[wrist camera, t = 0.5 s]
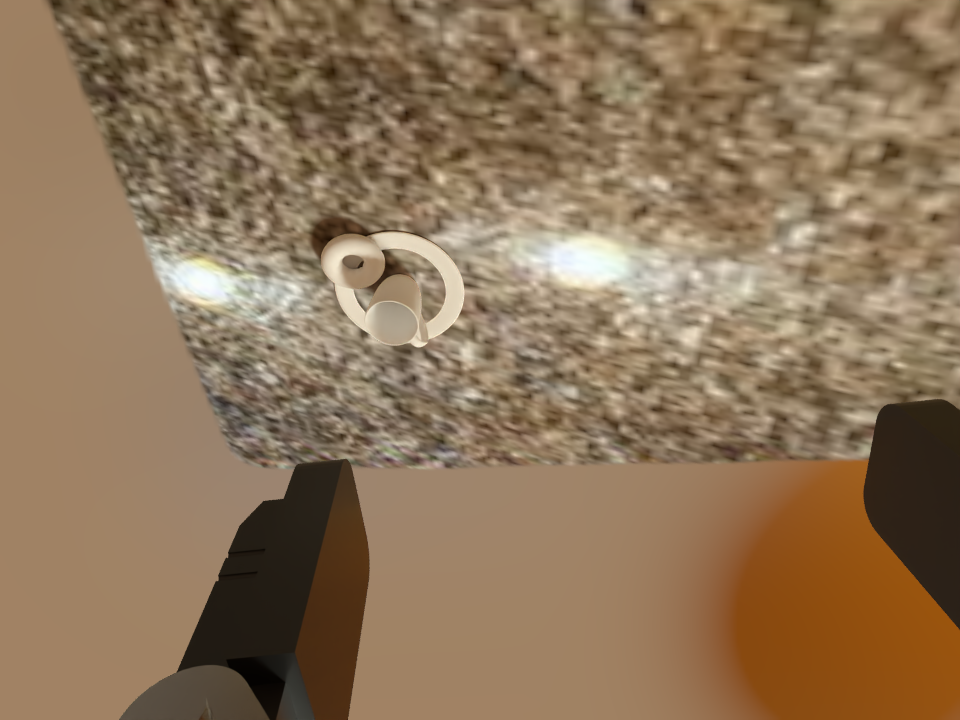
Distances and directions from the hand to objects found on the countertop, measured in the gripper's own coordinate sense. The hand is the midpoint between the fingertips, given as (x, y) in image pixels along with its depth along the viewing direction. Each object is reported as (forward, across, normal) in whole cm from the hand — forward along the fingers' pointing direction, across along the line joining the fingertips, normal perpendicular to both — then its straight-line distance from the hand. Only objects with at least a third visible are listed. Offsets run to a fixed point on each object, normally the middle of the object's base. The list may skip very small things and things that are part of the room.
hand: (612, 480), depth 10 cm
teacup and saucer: (+31, +5, +4) cm, 32 cm away
